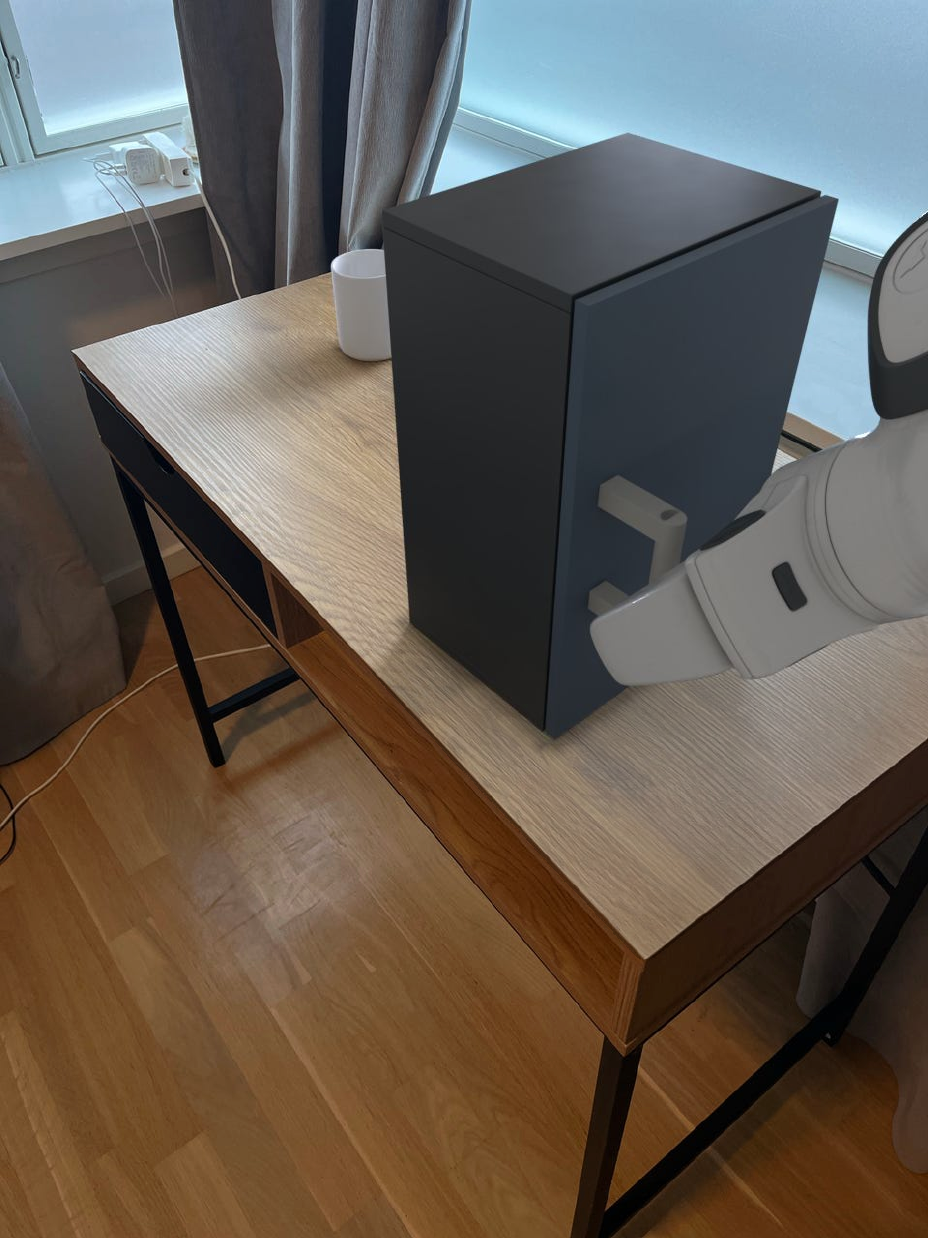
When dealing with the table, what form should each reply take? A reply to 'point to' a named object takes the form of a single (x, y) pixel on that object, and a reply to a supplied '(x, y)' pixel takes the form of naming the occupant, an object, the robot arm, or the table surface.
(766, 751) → the table surface
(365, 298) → the mug
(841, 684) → the table surface
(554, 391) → the cupboard
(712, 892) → the table surface
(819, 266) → the door
